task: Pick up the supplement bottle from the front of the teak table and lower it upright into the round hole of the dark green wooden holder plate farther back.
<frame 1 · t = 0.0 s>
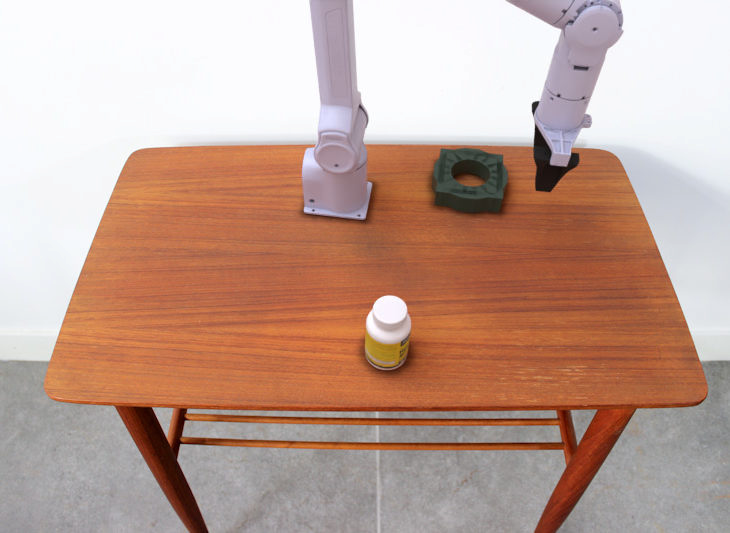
hand: (541, 170, 83), 10 cm above the table, tool pointing down, fingers open, 7 cm apart
holder: (467, 186, 95), on the table
supplement bottle: (386, 353, 76), on the table
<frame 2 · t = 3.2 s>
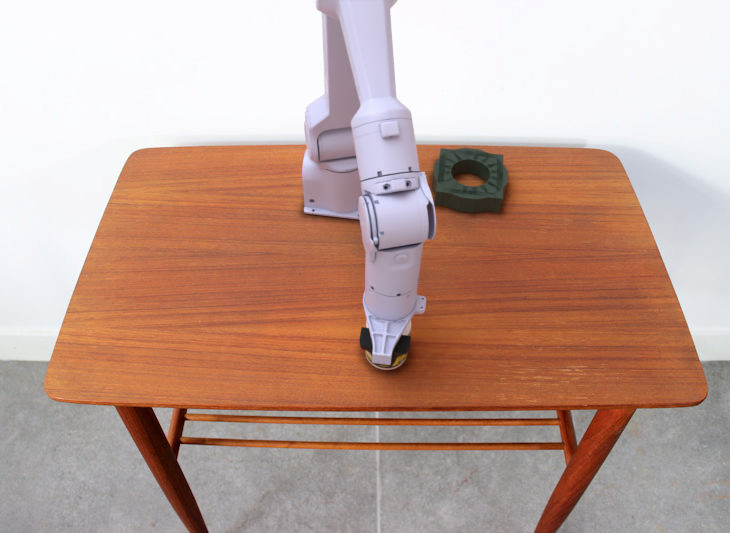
hand: (387, 342, 74), 3 cm above the table, tool pointing down, fingers closed on supplement bottle, 5 cm apart
supplement bottle: (386, 353, 76), on the table, touching gripper
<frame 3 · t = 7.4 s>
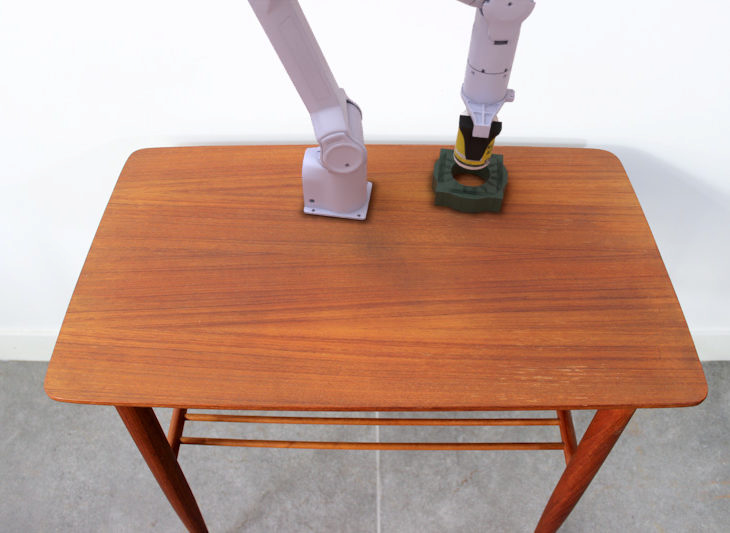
hand: (473, 145, 86), 10 cm above the table, tool pointing down, fingers closed on supplement bottle, 5 cm apart
supplement bottle: (471, 159, 89), point 7 cm above the table, touching gripper
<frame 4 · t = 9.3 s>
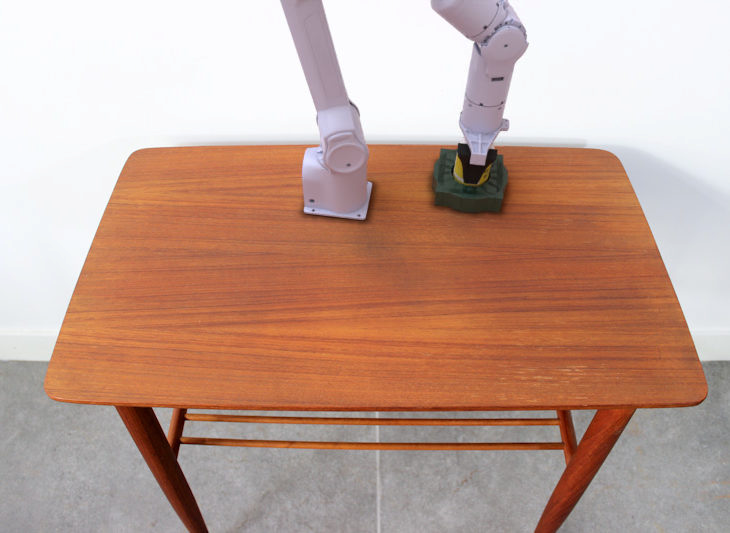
hand: (471, 169, 92), 4 cm above the table, tool pointing down, fingers closed on supplement bottle, 5 cm apart
supplement bottle: (469, 182, 95), point 1 cm above the table, touching gripper
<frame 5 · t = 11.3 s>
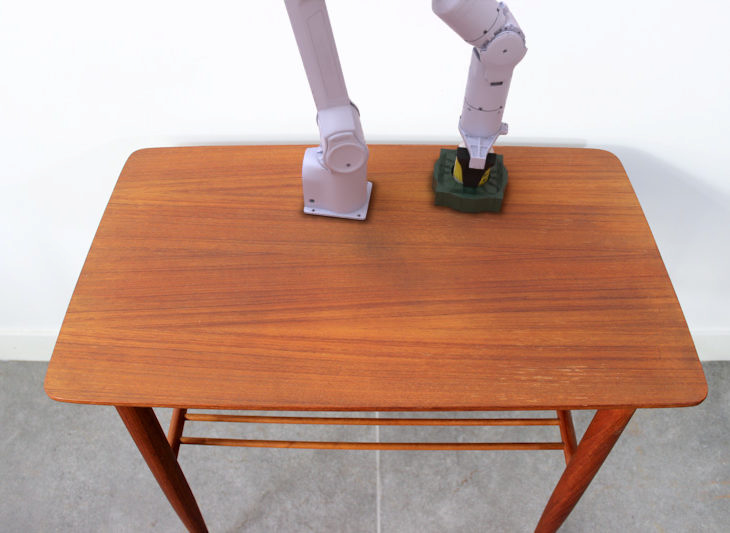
hand: (470, 172, 93), 3 cm above the table, tool pointing down, fingers closed on supplement bottle, 5 cm apart
supplement bottle: (468, 185, 95), resting in holder, touching gripper
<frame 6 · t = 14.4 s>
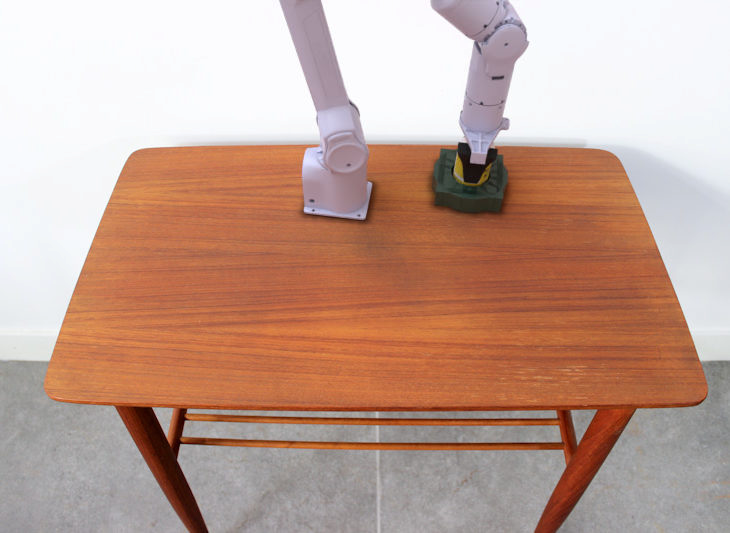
hand: (471, 168, 92), 4 cm above the table, tool pointing down, fingers closed on supplement bottle, 5 cm apart
supplement bottle: (469, 181, 94), point 1 cm above the table, touching gripper
when the fingers open (4 cm above the table, at t = 16.8 s): supplement bottle drops 1 cm, resting in holder.
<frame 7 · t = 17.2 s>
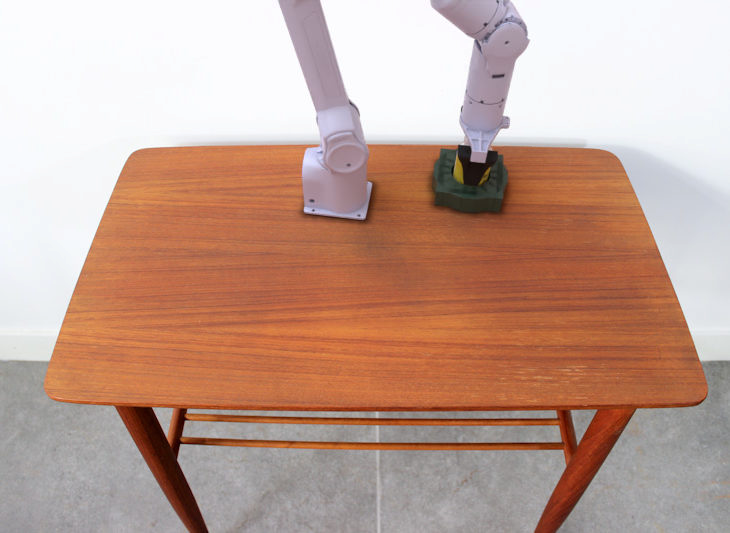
hand: (471, 167, 92), 4 cm above the table, tool pointing down, fingers open, 7 cm apart
supplement bottle: (468, 186, 95), resting in holder
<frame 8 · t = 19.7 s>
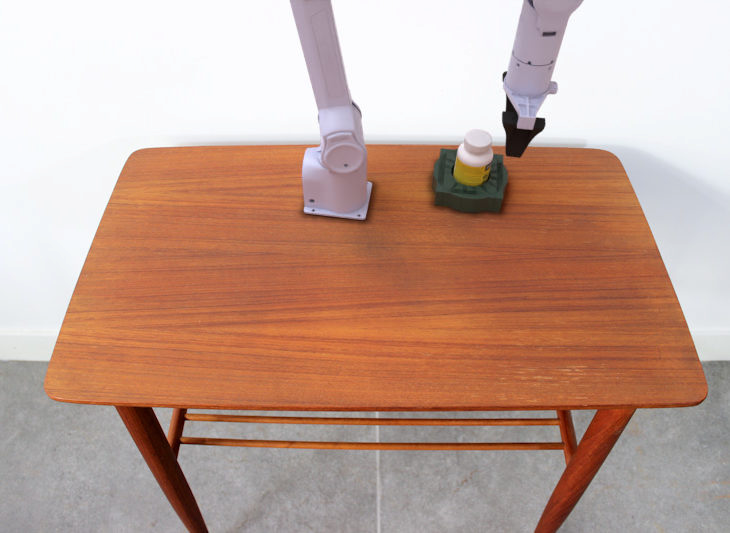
hand: (513, 137, 87), 10 cm above the table, tool pointing down, fingers open, 7 cm apart
nothing on the table moved.
at the end: supplement bottle 0.1 cm off-centre in the holder, point 0.0 cm above the holder's base; supplement bottle tilted 0°; the gripper is holding nothing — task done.
